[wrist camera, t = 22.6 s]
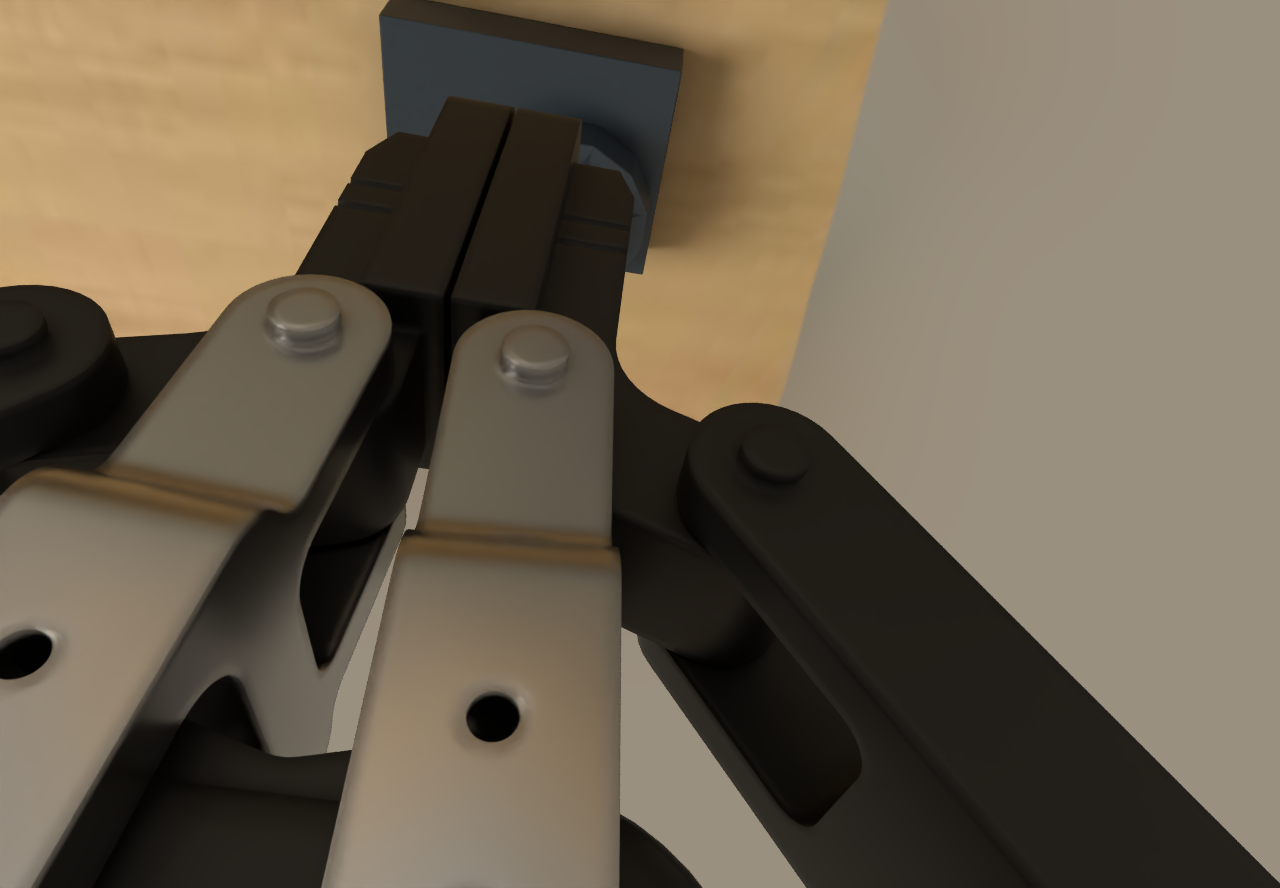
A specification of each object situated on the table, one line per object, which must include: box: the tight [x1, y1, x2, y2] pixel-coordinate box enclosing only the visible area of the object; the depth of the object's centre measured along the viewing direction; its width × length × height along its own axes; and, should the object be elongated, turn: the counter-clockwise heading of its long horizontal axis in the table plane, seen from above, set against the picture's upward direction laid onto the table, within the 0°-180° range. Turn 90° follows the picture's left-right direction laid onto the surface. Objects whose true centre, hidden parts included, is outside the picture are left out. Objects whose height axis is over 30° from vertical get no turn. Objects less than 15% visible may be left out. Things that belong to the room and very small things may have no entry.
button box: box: [379, 0, 683, 274], centre depth 37 cm, size 12×10×4 cm
